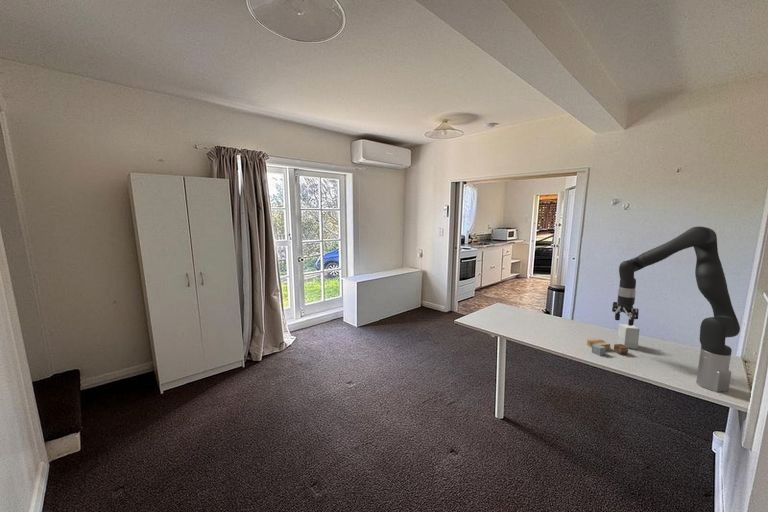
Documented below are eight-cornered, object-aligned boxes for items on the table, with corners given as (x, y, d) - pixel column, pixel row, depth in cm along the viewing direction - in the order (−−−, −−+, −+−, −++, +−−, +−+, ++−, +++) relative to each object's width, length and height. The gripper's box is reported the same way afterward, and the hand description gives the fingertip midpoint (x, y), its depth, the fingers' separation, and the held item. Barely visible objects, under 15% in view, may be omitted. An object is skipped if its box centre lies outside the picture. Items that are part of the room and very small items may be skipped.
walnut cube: (627, 354, 169) (628, 347, 168) (620, 355, 168) (621, 347, 168) (620, 351, 173) (621, 343, 172) (613, 351, 173) (614, 344, 172)
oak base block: (609, 350, 174) (610, 344, 174) (597, 351, 174) (597, 344, 173) (598, 344, 182) (599, 338, 182) (586, 345, 182) (587, 339, 181)
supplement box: (638, 349, 175) (640, 328, 173) (623, 348, 177) (625, 327, 175) (630, 343, 182) (632, 324, 181) (616, 342, 184) (618, 323, 182)
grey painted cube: (604, 354, 169) (605, 347, 169) (599, 355, 168) (600, 348, 167) (596, 351, 173) (597, 344, 173) (591, 352, 172) (592, 345, 171)
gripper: (644, 298, 159) (641, 327, 161) (621, 291, 173) (619, 318, 176) (631, 299, 159) (628, 327, 161) (609, 292, 173) (607, 318, 175)
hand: (623, 322), depth 168 cm, fingers open, 8 cm apart
